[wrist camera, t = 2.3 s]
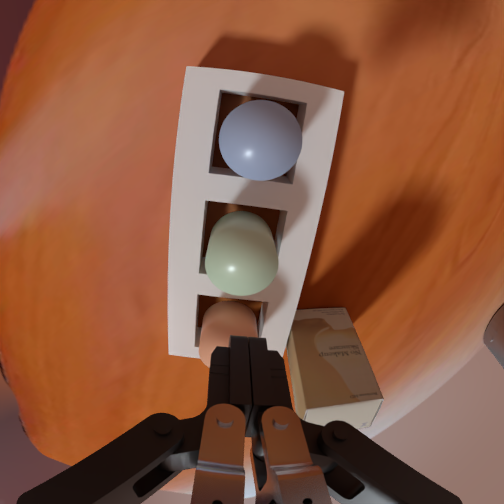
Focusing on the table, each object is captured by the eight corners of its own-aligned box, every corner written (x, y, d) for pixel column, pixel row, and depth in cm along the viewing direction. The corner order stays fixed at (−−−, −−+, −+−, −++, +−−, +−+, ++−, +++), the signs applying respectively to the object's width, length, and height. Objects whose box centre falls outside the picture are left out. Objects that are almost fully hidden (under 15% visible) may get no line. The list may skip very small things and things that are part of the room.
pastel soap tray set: (332, 94, 21) (344, 91, 18) (276, 345, 31) (280, 364, 29) (192, 72, 20) (186, 66, 17) (173, 334, 30) (168, 354, 28)
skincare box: (345, 305, 30) (389, 397, 19) (339, 337, 32) (374, 427, 21) (283, 309, 29) (305, 410, 18) (281, 341, 31) (299, 439, 20)
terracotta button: (260, 303, 26) (263, 333, 22) (252, 344, 28) (254, 375, 24) (204, 297, 26) (200, 327, 22) (201, 339, 28) (197, 370, 24)
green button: (277, 215, 23) (285, 235, 19) (266, 271, 25) (271, 298, 21) (213, 207, 22) (208, 226, 19) (207, 264, 24) (202, 291, 21)
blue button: (296, 109, 19) (308, 107, 16) (284, 173, 21) (294, 186, 18) (227, 99, 19) (225, 94, 15) (218, 164, 21) (213, 175, 17)
